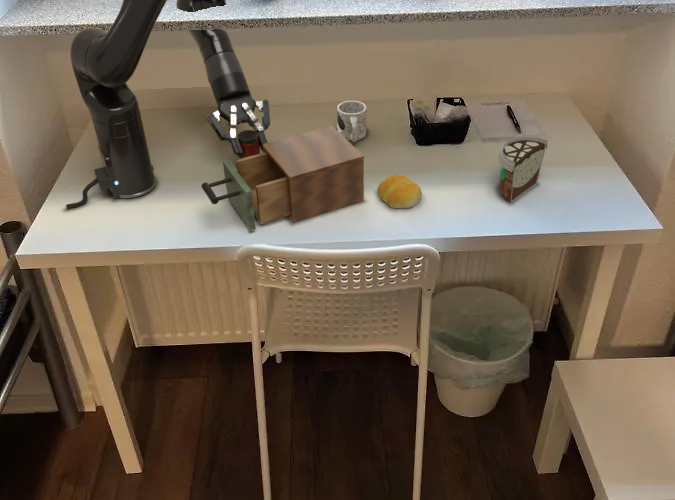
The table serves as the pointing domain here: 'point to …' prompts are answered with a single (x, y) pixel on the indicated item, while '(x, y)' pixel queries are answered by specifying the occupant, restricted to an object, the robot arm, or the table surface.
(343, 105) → the mug
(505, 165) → the food container
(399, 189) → the bread roll
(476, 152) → the table surface
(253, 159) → the drawer
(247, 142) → the red canister
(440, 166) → the table surface
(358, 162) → the cabinet
